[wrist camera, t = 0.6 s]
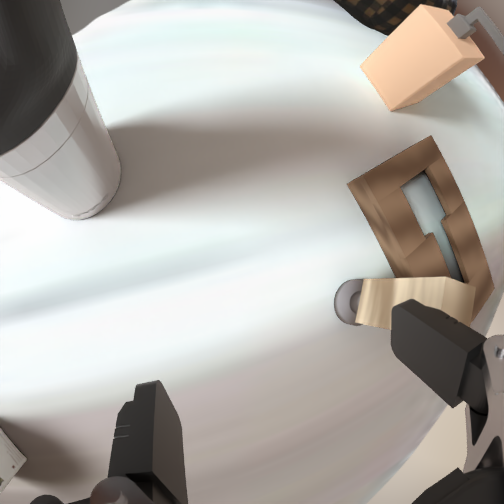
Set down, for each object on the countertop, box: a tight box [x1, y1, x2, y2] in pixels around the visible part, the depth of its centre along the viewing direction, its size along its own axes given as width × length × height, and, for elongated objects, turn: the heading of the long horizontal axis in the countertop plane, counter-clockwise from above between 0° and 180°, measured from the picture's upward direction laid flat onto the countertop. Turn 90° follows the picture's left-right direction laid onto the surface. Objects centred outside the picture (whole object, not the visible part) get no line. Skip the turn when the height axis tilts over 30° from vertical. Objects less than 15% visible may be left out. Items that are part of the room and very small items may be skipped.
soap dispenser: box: [360, 4, 504, 111], centre depth 28 cm, size 13×9×22 cm
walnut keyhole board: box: [347, 136, 494, 324], centre depth 36 cm, size 26×16×4 cm, turn 32°
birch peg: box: [334, 277, 476, 330], centre depth 26 cm, size 5×5×16 cm
